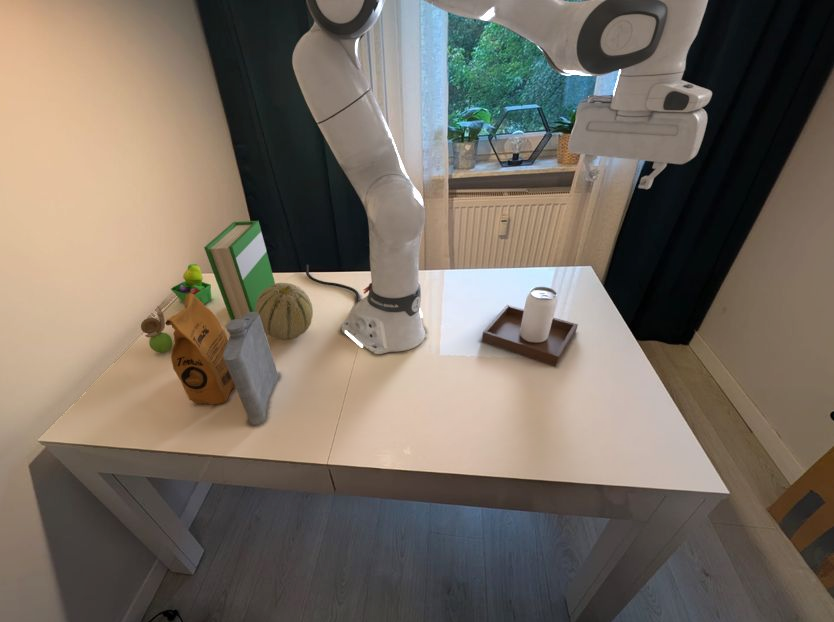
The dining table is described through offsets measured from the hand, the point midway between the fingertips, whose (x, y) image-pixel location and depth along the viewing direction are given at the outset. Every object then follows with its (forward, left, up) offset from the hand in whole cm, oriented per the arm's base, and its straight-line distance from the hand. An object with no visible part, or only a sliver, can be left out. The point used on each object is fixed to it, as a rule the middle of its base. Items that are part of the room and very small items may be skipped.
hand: (616, 183), depth 70 cm
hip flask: (-48, -57, -35) cm, 82 cm away
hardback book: (-79, -34, -35) cm, 93 cm away
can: (-7, -6, -34) cm, 36 cm away
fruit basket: (-102, -40, -35) cm, 115 cm away
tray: (-8, -6, -35) cm, 36 cm away
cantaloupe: (-61, -37, -35) cm, 80 cm away
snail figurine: (-85, -60, -35) cm, 110 cm away
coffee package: (-60, -61, -35) cm, 93 cm away
